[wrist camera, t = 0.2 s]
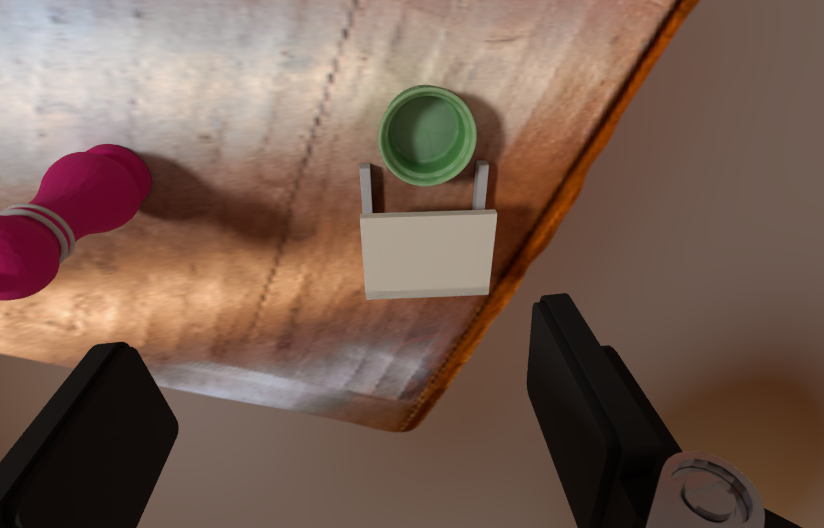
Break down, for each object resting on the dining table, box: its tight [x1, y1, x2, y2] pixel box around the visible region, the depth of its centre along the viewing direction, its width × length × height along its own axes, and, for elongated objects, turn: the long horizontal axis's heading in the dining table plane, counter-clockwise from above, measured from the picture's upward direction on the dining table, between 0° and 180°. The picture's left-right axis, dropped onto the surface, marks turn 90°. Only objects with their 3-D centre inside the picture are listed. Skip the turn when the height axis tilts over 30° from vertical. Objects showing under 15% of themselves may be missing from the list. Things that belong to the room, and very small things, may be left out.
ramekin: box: [378, 85, 477, 186], centre depth 41 cm, size 9×9×4 cm
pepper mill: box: [0, 144, 152, 300], centre depth 35 cm, size 7×7×20 cm
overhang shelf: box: [360, 160, 497, 300], centre depth 46 cm, size 12×13×6 cm
